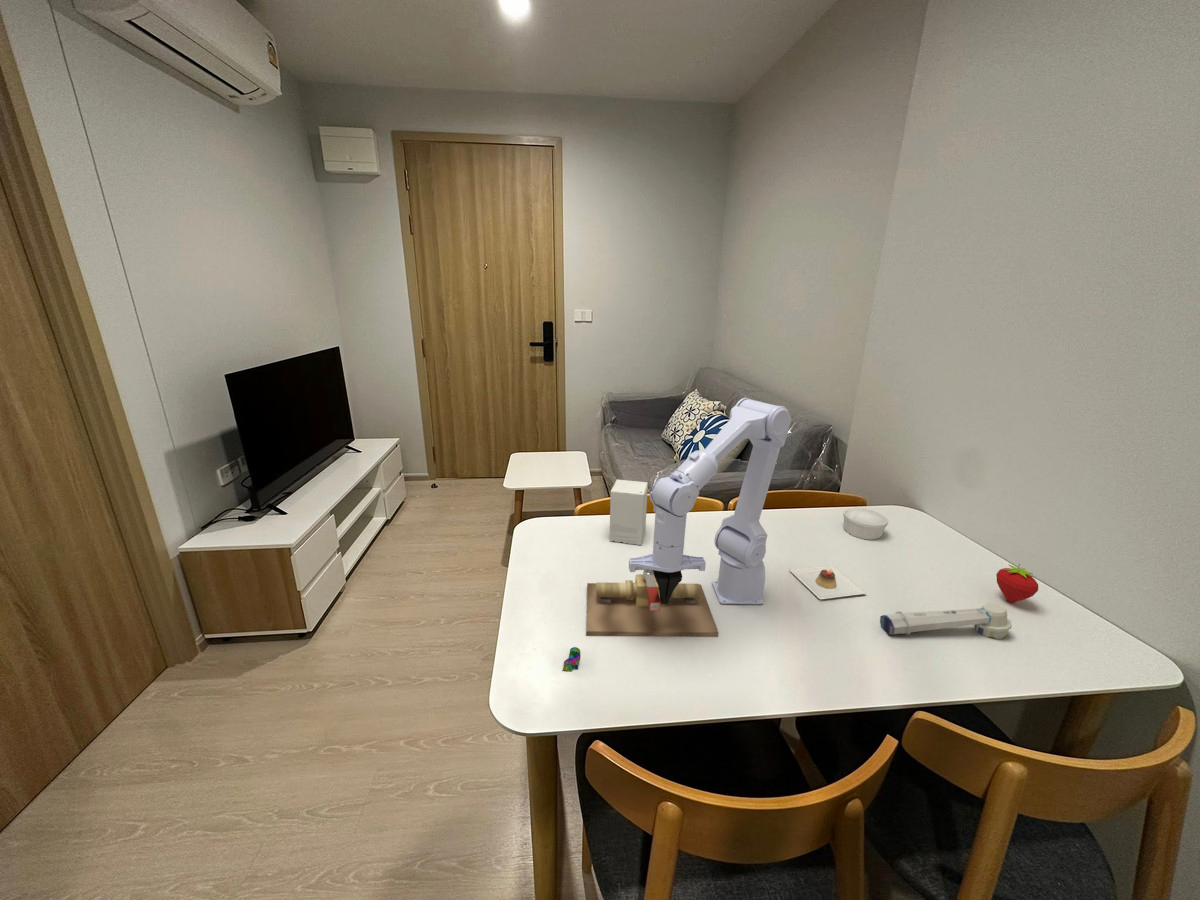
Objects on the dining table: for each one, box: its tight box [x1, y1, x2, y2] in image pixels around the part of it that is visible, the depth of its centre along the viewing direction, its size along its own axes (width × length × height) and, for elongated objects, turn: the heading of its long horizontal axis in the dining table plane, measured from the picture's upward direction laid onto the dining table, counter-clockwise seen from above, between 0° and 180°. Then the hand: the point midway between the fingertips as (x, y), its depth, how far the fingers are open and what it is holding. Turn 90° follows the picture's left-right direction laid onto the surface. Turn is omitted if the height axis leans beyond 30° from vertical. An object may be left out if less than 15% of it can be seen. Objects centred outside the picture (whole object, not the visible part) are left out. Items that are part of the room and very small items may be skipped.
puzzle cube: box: [561, 646, 581, 673], centre depth 85 cm, size 4×3×2 cm, turn 174°
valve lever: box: [642, 570, 660, 611], centre depth 95 cm, size 12×2×2 cm, turn 1°
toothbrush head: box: [879, 602, 1013, 640], centre depth 95 cm, size 5×7×25 cm
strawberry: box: [996, 563, 1039, 604], centre depth 104 cm, size 6×8×10 cm
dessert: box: [789, 564, 867, 600], centre depth 111 cm, size 12×12×5 cm
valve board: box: [585, 573, 720, 638], centre depth 99 cm, size 26×16×6 cm, turn 91°
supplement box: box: [608, 479, 649, 546], centre depth 128 cm, size 9×9×15 cm
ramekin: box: [842, 507, 889, 541], centre depth 135 cm, size 11×11×5 cm
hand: (664, 600), depth 93 cm, fingers closed
